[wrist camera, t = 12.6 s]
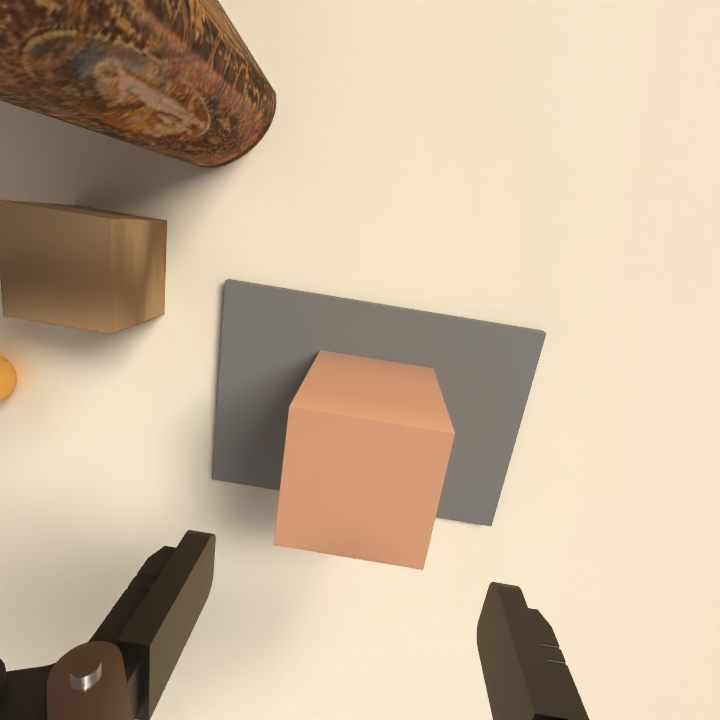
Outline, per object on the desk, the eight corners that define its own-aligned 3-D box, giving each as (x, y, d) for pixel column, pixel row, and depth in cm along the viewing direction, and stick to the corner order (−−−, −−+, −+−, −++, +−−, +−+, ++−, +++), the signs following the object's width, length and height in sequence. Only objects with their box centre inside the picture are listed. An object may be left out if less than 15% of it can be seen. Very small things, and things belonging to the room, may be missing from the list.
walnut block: (74, 205, 23) (-6, 199, 19) (167, 220, 23) (111, 218, 19) (77, 299, 25) (3, 315, 20) (165, 313, 25) (111, 334, 20)
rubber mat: (229, 279, 24) (225, 280, 23) (542, 330, 24) (546, 333, 23) (215, 473, 27) (212, 478, 27) (489, 520, 27) (491, 526, 27)
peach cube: (320, 350, 24) (289, 406, 16) (433, 368, 24) (454, 433, 16) (307, 451, 26) (273, 544, 18) (412, 468, 26) (423, 569, 18)
